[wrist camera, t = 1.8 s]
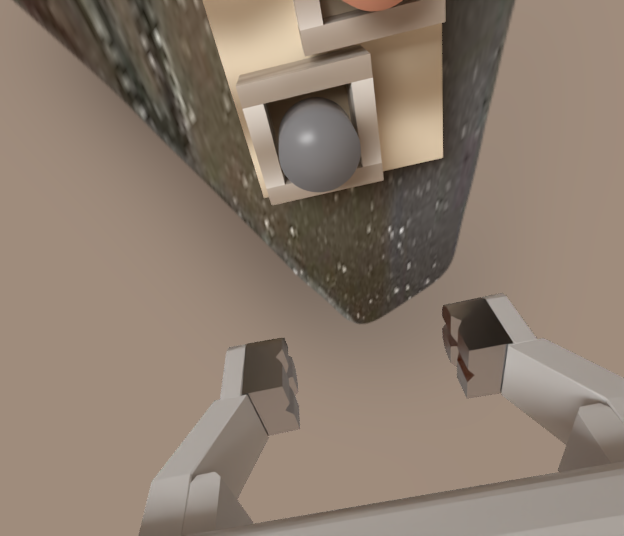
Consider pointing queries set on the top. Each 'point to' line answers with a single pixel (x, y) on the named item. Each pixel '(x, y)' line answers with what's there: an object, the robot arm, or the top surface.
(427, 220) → the top surface
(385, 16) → the control panel
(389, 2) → the middle button
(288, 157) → the button
